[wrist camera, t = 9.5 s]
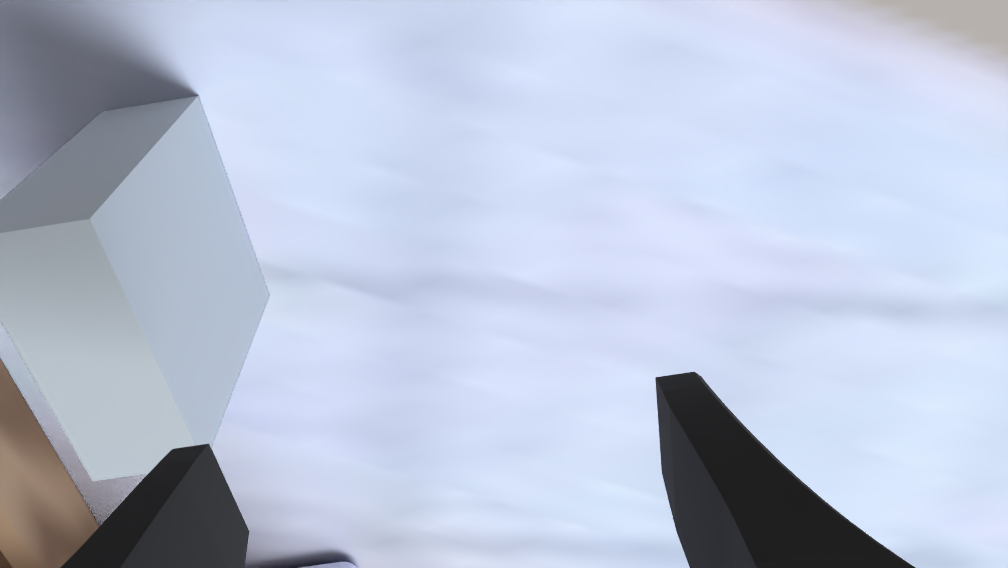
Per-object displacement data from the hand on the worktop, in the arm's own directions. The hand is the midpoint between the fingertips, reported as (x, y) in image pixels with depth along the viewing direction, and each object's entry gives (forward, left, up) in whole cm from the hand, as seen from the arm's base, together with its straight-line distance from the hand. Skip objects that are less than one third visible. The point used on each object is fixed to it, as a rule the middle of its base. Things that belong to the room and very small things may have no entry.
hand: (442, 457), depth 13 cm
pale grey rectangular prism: (+1, +7, -10) cm, 13 cm away
